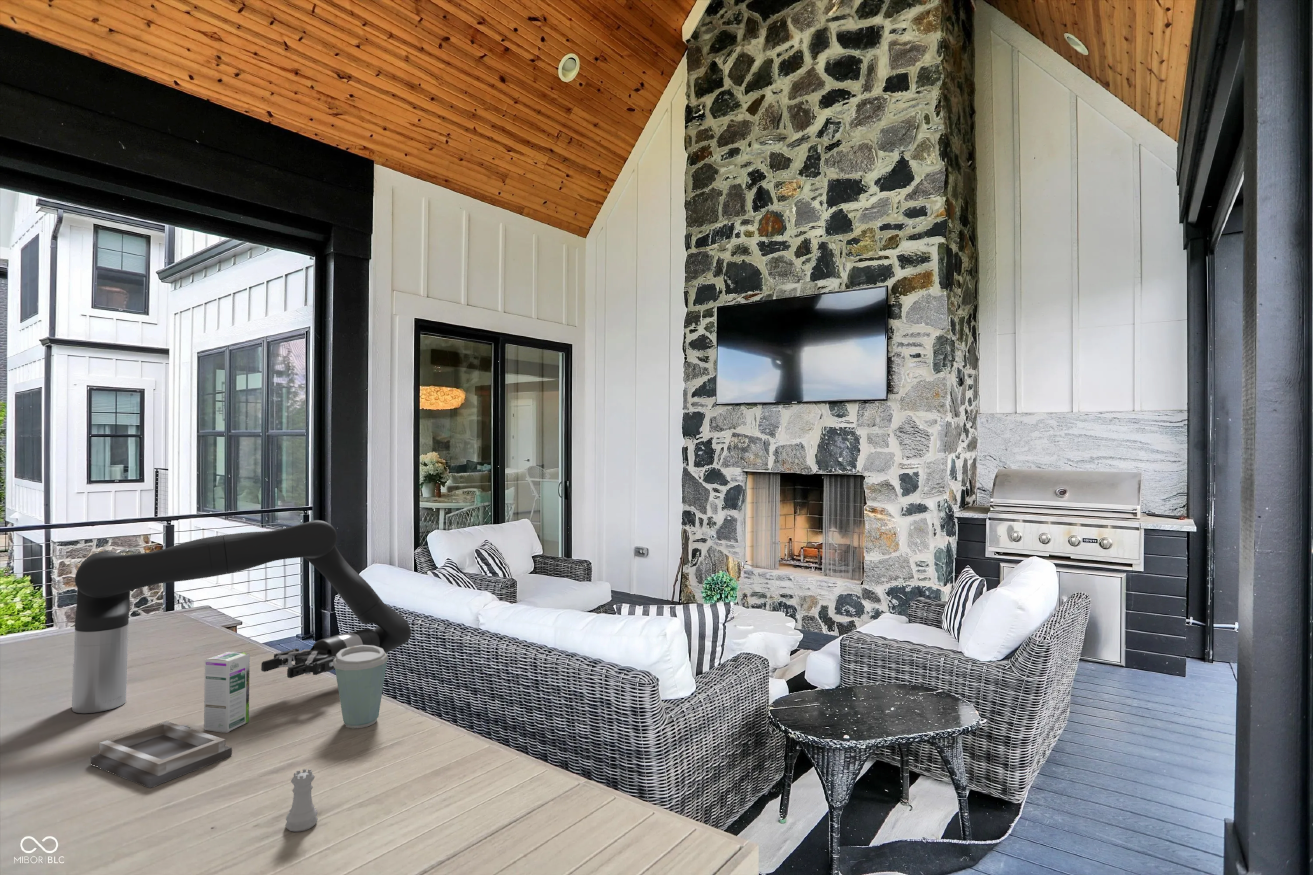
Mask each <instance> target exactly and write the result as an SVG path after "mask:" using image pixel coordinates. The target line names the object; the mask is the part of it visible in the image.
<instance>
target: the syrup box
mask: <svg viewBox="0 0 1313 875" xmlns="http://www.w3.org/2000/svg"><path fill="white" fill-rule="evenodd" d="M250 659H251V656H250V652H249V653H248V652H243V651H225V652H223V653H221V654H219V655H214V656H212V657H209V658H205V660H204V686H203V687H204V691H203V692H204V694H203V696H204V700H203V704H204V705H203V706H204V708H203V712H204V713H203V730H204V731H208V732H209V731H210V732H215V733H216V732H217V733H227V734H228V733H230V731H233V730H234V729H237V728H239V727H241V726H243V725H245V724H248V723H249V722H250V667H251V666H250V662H251V661H250Z"/></svg>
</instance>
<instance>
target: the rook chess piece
mask: <svg viewBox="0 0 1313 875" xmlns="http://www.w3.org/2000/svg"><path fill="white" fill-rule="evenodd" d="M315 777H316V776H315V775H314V774H313V770H312V769H310V768H309V769H308V770H307V768H303V769H302V772H301V770H300V769H299V770H296V772H294V773H293V777H292V778H291V780H290V782H291V784H292V785H293V789H292V792H293V799H292V804H291V807H290V809H289V812H288V813H287V816H286V818H285V820H286V822H285V827H286V829H287V831H289V832H291V833H293V832H294V833H299V832H300V833H301V832H304V831H307V830H309V829H311V828H313V827H314V826H315V825H316V824H317V822H318V820H319V818H318V811H317V809H316V807H315V805H314V803H313V797H312V790H313V788H314V787H313V785H312V783H313V781H314V779H315Z"/></svg>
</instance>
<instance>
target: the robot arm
mask: <svg viewBox="0 0 1313 875" xmlns="http://www.w3.org/2000/svg"><path fill="white" fill-rule="evenodd" d="M337 541H338V534H337V530H336V529H335V527H334V526H333V525H332V524H331V523H329V522H327V521H324V520H319V519H313V520H310V521H307V522H303V523H300V524H296V525H292V526H287V527H284V528H283V527H282V528H278V529H274V530H263V531H248V532H236V533H230V534H229V533H228V534H221V535H215V536H214V535H213V536H207V537H201V538H198V539H197V538H196V539H194V540H189V541H186V542H182V543H178V544H175V545H173V546H169V547H166V548H163V549H158V550H155V551H149V552H142V553H141V552H140V553H130V554H120V553H119V552H116V551H111V550H103V551H99V552H95V553H92V554H91V555H89V556H88V557H86V558H85V559H83V561H82V562H81V563H80V565H79V567H78V569H77V570H76V571H75V572H76V573H75V576H74V583H75V586H76V589H77V591H76V609H75V615H74V640H73V642H74V643H73V644H74V646H73V665H72V691H71V692H72V693H71V694H72V696H71V707H72V708H71V711H72V712H74V713H77V714H92V713H99V712H100V713H101V712H104V711H105V712H106V711H109V710H113V709H115V708H118V707H120V706H123V705H124V704H125V703H127V686H128V685H127V684H128V657H129V656H128V655H129V654H128V652H129V649H128V648H129V622H130V621H129V619H130V607H131V606H130V605H131V604H130V603H131V602H130V598H131V591H134V590H138V589H143V588H146V587H150V586H156V585H160V584H166V583H177V582H185V581H191V580H192V581H193V580H198V579H207V578H213V577H218V576H223V575H228V574H233V573H237V572H238V573H239V572H243V571H246V570H249V569H252V568H256V567H259V566H262V565H265V564H267V563H268V564H269V563H272V562H276V561H281V560H289V559H297V558H304V559H305V560H306V561H308V562H309V563H310V564H311V566H313V567H314V568H316V570H317V571H318V572H319V573H320V574H321V575H322V576H323V577H324V578H325V579H326V580H327V581H328V582H329V583H330V585H331V586H332V587H333V588H334V590H335V591H336V592H337V593H338V595H339V596H340V598H341V599H342V600H343V601H344V603H345V604H346V605H347V607H348V608H349V609H350V610H351V612H352V613H353V614H354V615H355V617H356V618H357V619H358V620H359V622H360V623H361V624H364V625H369V624H375V625H376V626H377V627H375V628H373V629H371V628H363V629H360V630H355V631H352V632H347V633H341V634H336V635H333V636H329V637H326V638H322V639H319V640H317V641H315V642H314V643H313V645H312V647H311V648H310V649H309V648H308V649H303V650H300V648H296V647H295V648H293V649H290V650H286V651H282V652H278V653H274V654H273V658H270V659H267V660H264V661H262V662H261V665H260V667H261V668H260V670H261V672H264V673H267V672H268V671H269V672H270V671H272V670H276V669H280V668H287V670H286V672H287V674H286V675H287V676H286V677H287V678H289V679H293V678H296V677H299V676H303V675H311V674H312V675H313V676H317V675H320V674H323V673H328V672H331V671H333V670H335V668H334V666H333V660H334V659H335V658H336V654H337V653H338V652H339V651H340V650H342V649H345V648H348V647H353V646H359V645H372V646H377V647H380V648H382V649H383V650H384V652H385V653H386V654H387V653H389V652H392V651H394V650H395V649H398V648H399V647H401V646H403V645H405V644H406V643H408V642H409V640H410V639H411V637H412V636H411V635H412V629H411V626H410V624H409V622H408V621H407V619H405V617H404V616H402V615H401V614H400V613H398V612H397V611H396V610H394V609H393V608H392V607H390V606H389V605H387V604H386V603H384V601H383V600H382V599H381V597H380V596H379V595H378V593H377V592H376V591H375V590H374V589H373V587H372V586H371V585H370V584H369V583H368V582H367V581H366V580H365V579H364V578H363V577H362V576H361V575H360V574H359V573H358V572H357V571H356V570H355V569H354V568H353V567H352V566H351V565H350V564H349V563H348V562H347V560H346V559H345V558H344V557H343V555H342V554H341V552H340V551H339V550H338V548H337V546H336V544H337ZM293 663H294V664H293Z"/></svg>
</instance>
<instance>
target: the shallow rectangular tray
mask: <svg viewBox="0 0 1313 875" xmlns="http://www.w3.org/2000/svg"><path fill="white" fill-rule="evenodd" d="M98 745H99V747H98V748H99V749H98V754H95V755H91V756H90V765H91V764H92V765H95V766H98V767H99V768H101V769H100V770H102V769H104V770H103V771H105V770H107V771H109V772H108V773H110V772H111V773H110V774H112V773H114V774H113V775H115V774H116V775H115V776H118V777H120V776H121V777H120V778H123V779H125V780H128V781H131V782H133V783H135V784H138V785H139V786H140V785H141V786H143V787H146V788H148V789H152V788H154V787H156V786H159V785H162V784H165V783H167V782H169V781H172V780H174V779H177V778H179V777H182V776H184V775H187V774H189V773H191V772H194V771H197V770H199V769H201V768H205V767H207V766H209V765H211V764H212V765H213V764H215V763H217V762H221V761H222V760H225V759H227V758H230V757H232V756H233V748H232V746H228V745H226V738H223V737H218V736H215V735H212V734H209V733H206V732H203V731H200V730H197V729H193V728H190V727H187V726H183V725H180V724H177V723H174V722H171V721H167V720H166V721H162V722H159V723H156V724H152V725H150V726H147V727H143V728H140V729H138V730H135V731H131V732H129V733H125V734H122V735H119V736H116V737H113V738H109V739H106V740H103V741H101V742H99V744H98ZM231 755H232V756H231ZM229 756H230V757H229ZM92 765H91V766H92ZM99 768H98V769H99ZM107 771H106V772H107Z"/></svg>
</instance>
